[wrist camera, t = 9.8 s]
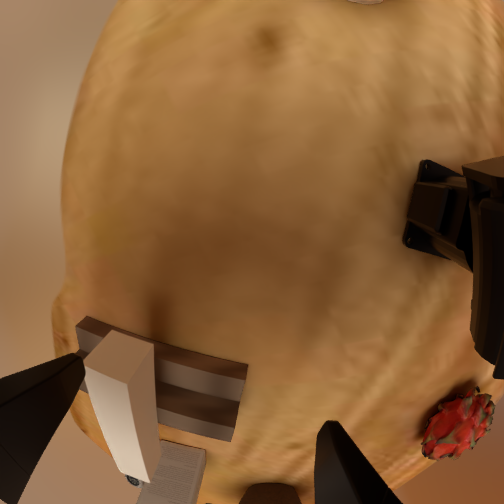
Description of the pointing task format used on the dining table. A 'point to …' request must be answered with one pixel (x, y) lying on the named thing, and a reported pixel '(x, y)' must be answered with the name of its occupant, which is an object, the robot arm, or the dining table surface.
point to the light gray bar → (126, 401)
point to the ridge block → (183, 384)
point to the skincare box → (175, 476)
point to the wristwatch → (134, 481)
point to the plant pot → (270, 494)
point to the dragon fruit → (457, 425)
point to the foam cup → (367, 1)
